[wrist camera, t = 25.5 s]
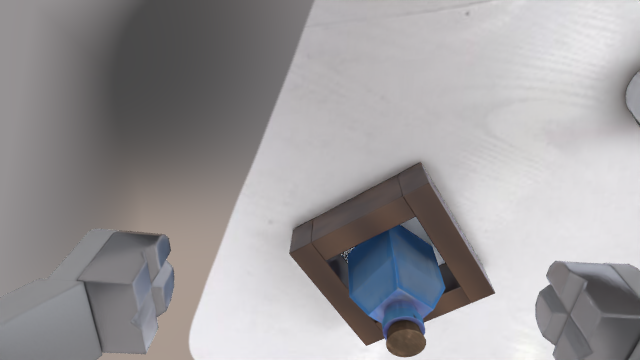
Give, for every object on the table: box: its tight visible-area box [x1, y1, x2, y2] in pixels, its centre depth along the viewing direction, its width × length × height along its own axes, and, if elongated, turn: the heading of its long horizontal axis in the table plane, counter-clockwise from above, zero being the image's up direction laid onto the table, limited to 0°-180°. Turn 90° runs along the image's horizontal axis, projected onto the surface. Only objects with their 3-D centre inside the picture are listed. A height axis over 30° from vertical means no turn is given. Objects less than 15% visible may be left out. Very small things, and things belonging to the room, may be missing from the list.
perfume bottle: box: [348, 225, 445, 357], centre depth 40 cm, size 6×6×12 cm
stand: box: [289, 162, 495, 346], centre depth 43 cm, size 14×14×4 cm
